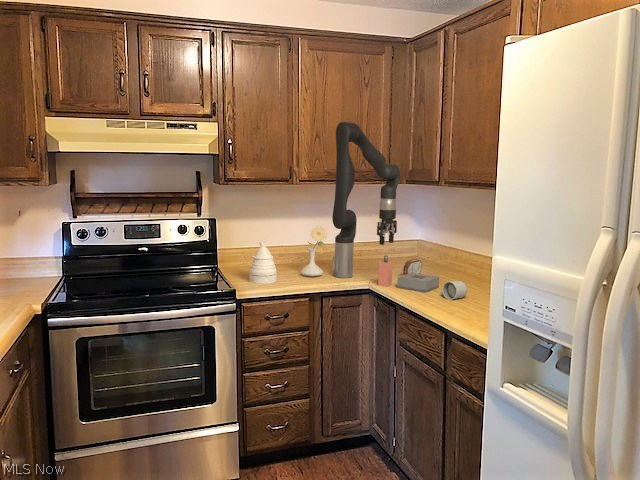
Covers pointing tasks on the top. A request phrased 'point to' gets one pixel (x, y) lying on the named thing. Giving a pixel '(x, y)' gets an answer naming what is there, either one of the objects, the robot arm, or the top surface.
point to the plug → (385, 272)
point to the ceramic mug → (454, 290)
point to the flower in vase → (312, 268)
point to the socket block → (418, 282)
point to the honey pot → (263, 267)
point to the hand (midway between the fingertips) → (386, 243)
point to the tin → (412, 267)
